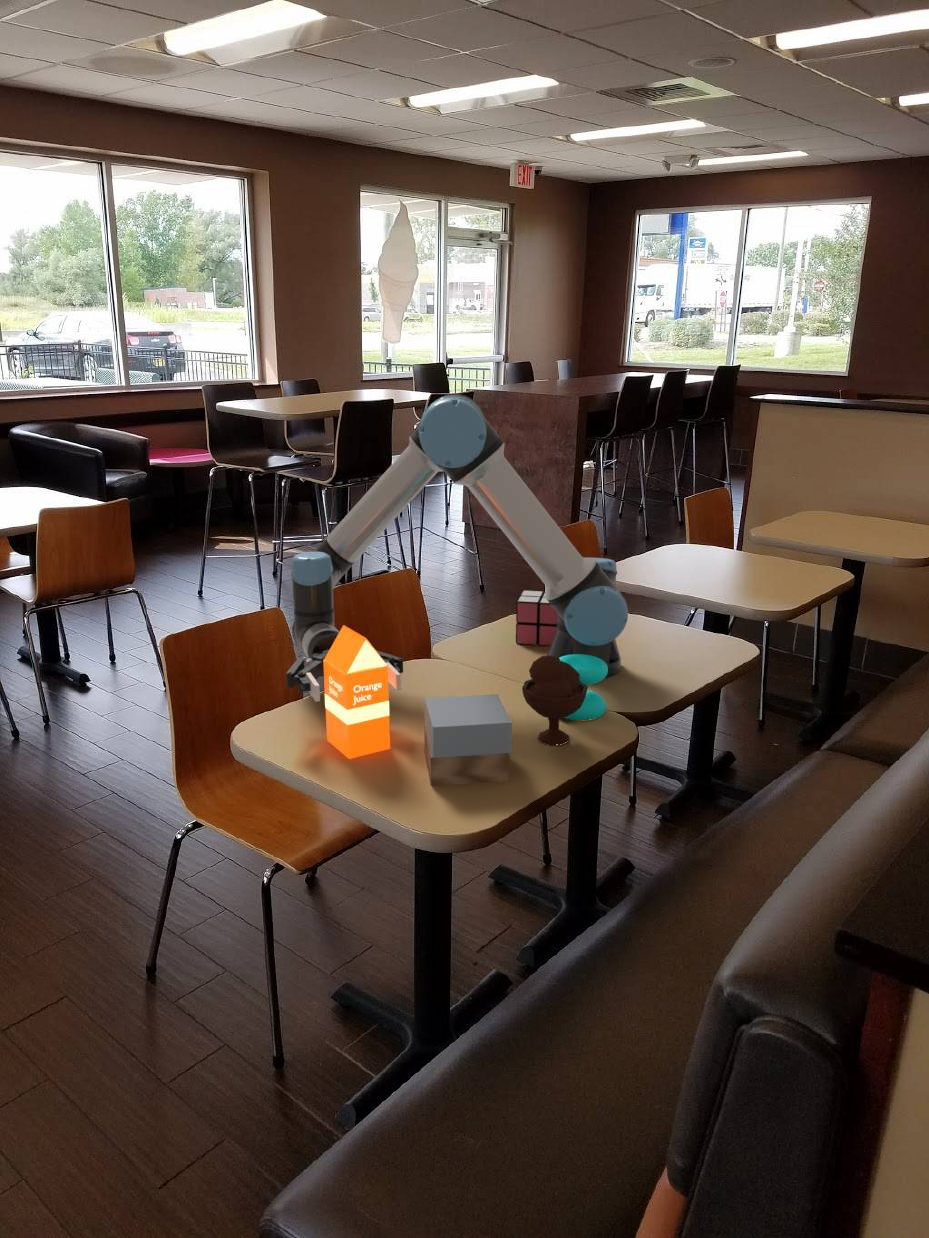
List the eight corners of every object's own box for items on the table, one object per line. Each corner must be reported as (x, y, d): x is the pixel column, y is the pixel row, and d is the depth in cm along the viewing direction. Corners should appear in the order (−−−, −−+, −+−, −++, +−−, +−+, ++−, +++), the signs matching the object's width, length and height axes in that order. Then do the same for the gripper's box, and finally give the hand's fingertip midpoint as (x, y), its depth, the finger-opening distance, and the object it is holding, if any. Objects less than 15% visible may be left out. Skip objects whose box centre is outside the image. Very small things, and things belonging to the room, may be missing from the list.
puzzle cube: (560, 647, 206) (561, 603, 203) (515, 644, 208) (516, 601, 205) (564, 634, 216) (566, 592, 213) (521, 631, 217) (522, 590, 215)
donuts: (540, 658, 168) (582, 648, 173) (539, 710, 171) (580, 698, 176) (578, 674, 160) (620, 663, 166) (576, 728, 163) (617, 715, 169)
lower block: (496, 750, 155) (496, 722, 153) (508, 782, 143) (508, 753, 142) (424, 754, 153) (424, 726, 152) (430, 787, 142) (430, 757, 141)
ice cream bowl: (569, 757, 151) (572, 671, 147) (509, 742, 157) (510, 658, 153) (596, 735, 160) (600, 652, 156) (538, 721, 166) (540, 641, 161)
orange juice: (348, 759, 151) (343, 642, 145) (326, 740, 158) (320, 627, 152) (391, 748, 155) (388, 634, 149) (367, 730, 162) (363, 620, 156)
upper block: (497, 722, 154) (497, 694, 152) (511, 752, 142) (511, 722, 141) (425, 726, 152) (424, 698, 150) (433, 757, 140) (432, 727, 139)
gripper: (393, 660, 176) (431, 698, 157) (259, 677, 167) (283, 720, 148) (392, 622, 173) (430, 656, 155) (257, 637, 165) (280, 676, 146)
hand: (358, 687), depth 151 cm, fingers open, 13 cm apart
